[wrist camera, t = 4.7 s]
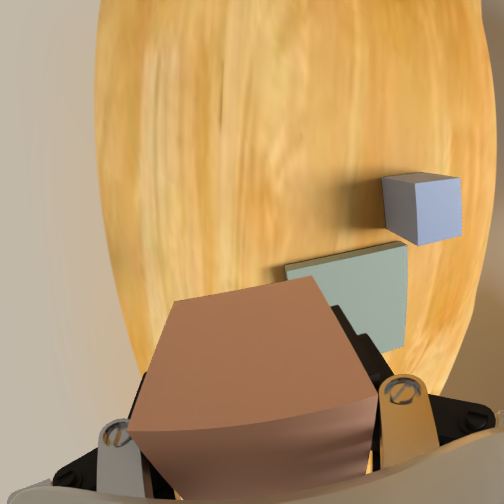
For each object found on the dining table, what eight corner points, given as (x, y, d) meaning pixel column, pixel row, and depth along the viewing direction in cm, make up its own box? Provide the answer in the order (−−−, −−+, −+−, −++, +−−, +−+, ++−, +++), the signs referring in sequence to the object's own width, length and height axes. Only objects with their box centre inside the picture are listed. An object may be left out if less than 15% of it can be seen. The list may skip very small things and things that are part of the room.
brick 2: (381, 177, 26) (414, 183, 20) (423, 172, 26) (460, 177, 20) (386, 228, 27) (417, 246, 21) (426, 220, 27) (461, 235, 21)
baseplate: (284, 265, 28) (286, 271, 26) (400, 241, 27) (407, 245, 26) (299, 365, 31) (302, 374, 30) (398, 339, 31) (403, 346, 30)
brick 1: (174, 301, 11) (126, 430, 5) (311, 275, 11) (378, 394, 5) (210, 397, 12) (200, 516, 6) (322, 378, 12) (361, 493, 6)
